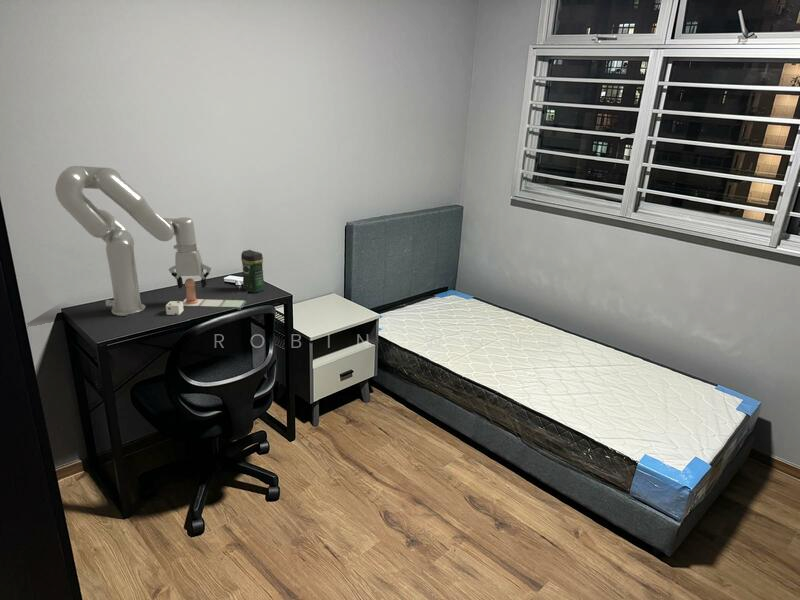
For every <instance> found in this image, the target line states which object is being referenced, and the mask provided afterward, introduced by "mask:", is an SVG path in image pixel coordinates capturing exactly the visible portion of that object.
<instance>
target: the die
mask: <svg viewBox="0 0 800 600" xmlns="http://www.w3.org/2000/svg"><path fill="white" fill-rule="evenodd" d="M183 301H184V300H183ZM183 301H180V300H179V301H178V300H176V301H175V300H171V301H169V302H168V303H167V304H165V312H166V315H169V316H170V315H171V316H180V315H181V314H182V313H183V312H184V311H185V310H184V306H183Z"/></svg>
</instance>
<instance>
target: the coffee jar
mask: <svg viewBox="0 0 800 600" xmlns="http://www.w3.org/2000/svg"><path fill="white" fill-rule="evenodd" d="M263 260H264V256H263V253H261V252H259V251H255V250H251V249H247V250H243V251H242V252H241V263H242V289H244V290H246V291H248V292H249V293H251V294H252V293H261V292H263V291H264V290H265V279H264V270H263V262H264V261H263Z"/></svg>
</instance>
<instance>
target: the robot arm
mask: <svg viewBox="0 0 800 600" xmlns="http://www.w3.org/2000/svg"><path fill="white" fill-rule="evenodd" d="M54 188H55V197H56V198H57V201H58V202H59V203H60V205H61V206H62V207H63V209H65V211H66V212H68V213H69V214H70V215H71V216H72V217H73V218H74V220H75V221H76V222H77V223H78V224H80V226H82V227H83V229H84V230H85V231H86V232H87V233H88V234H89V235H90V236H92V237H94V238H97V239H101V240H102V241H103V242H104V243H106V246H105V251H106V259H107V262H108V268H109V275H110V281H111V287H112V288H111V289H112V292H113V293H112V295H113V300H110V299H106V300H105V306H106V307H111V313H112V314H113V315H115V316H118V317H119V316H120V317H124V316H125V317H126V316H128V315H129V314H130V315H131V314H135V313H140V312H141V311H143V310H145V309H146V305H145V304H143V303H142V301H141V294H140V288H139V281H138V280H139V279H138V272H137V265H136V259H135V251H134V250H135V249H134V248H135V240H134V237H133V236H132V234H131V233H130V232H129V231H128V229H126V227H124V226H123V225H122V223H121V222H119V220H117V219H116V218H115V216H114V215H112V214H111V213H110V212H109V211H107V210H104V209H99V208H97V206H95V204H94V203H93V202H92V201H91V200H90V199H89V198H87V196H85V194H84V192H83V190H84V189H89V190H90V189H92V190H95V189H96V190H100V191H101V192H102V193H103V194H104V195H105V196H107V198H109V199H111V200H112V201H113V202H114V203H115V204H116V205H118V206H119V207H120V208H121V209H123V210H124V211H125V212H126V213H127V214H128V215H129V216H130V217H131V218H132V219H133V220H135V222H137V224H138V225H140V227H141V228H143V229H144V230H145V231H146V232H148V234H149V235H151V236H152V237H154V238H155V239H157V241H160V242H168V241H170V240H172V239H173V237H174V238H175V245H173V249H174V250H175V249H176V251H175V256H174V257H175V258H174V259H175V262H174V263H175V265H173V266H171V267H170V268H169V269H168V271H169V273H170V274H171V276H172V277H173V278H174V279H175V280H176V284H177V287H178V289H181V288H183V287H184V282H183V281H184V280H183V277H197V276H199V277H200V283H201V289H205V288H206V287H207V277H208V276H209V275H210V273H211V271H212V268H211V267H210V266H208V265H206V264H203V260H202V256H201V253H200V250H199V249H197V248H198V247H197V241H196V239H197V238H196V232H195V224H194V220H193V219H192V218H191V217H187V216H186V217H185V216H184V217H176V218H170V217H168V218H167V217H163V218H162V217H161V216H160V215H159V214H157V213H156V212H155V210H153V208H152V207H151V206H150V205H149V204H148V201H147V200H146V199H145V198H144V196H142V194H141V193H140V192H139V191H137V190H136V189H134V187H132V186H131V185H130V184H129V183H127V182H126V181H125V179H123V178H122V176H121V174H120V173H119V172H118V171H117V170H116V169H114V168H111V167H100V166H98V167H97V166H85V165H84V166H83V165H72V166H69V167H67V168H65V169H64V170H62V172H61V173H60V175H59V176H58V178H57V180H56V184H55V187H54ZM204 270H206V272H204Z"/></svg>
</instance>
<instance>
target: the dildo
mask: <svg viewBox="0 0 800 600" xmlns="http://www.w3.org/2000/svg"><path fill="white" fill-rule="evenodd" d="M195 284H196V281H195V280H194V279H193V278H186V279H185V281H184V285H185V293H186V294H185V295H186V299H187V300H186V304H196V303H197V302H198V300H197V299H198V298H197V296H196V285H195Z"/></svg>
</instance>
